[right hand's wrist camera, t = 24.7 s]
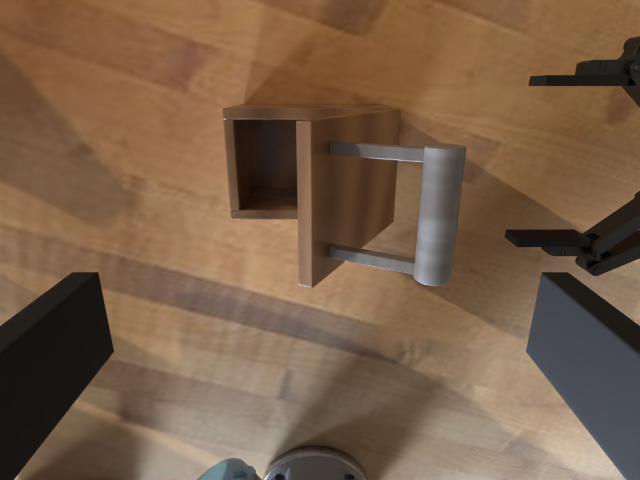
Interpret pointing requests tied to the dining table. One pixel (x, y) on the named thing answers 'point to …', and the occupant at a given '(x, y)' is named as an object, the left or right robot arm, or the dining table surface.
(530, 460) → the dining table surface
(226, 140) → the brown wooden cabinet
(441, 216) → the lid
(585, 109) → the dining table surface
